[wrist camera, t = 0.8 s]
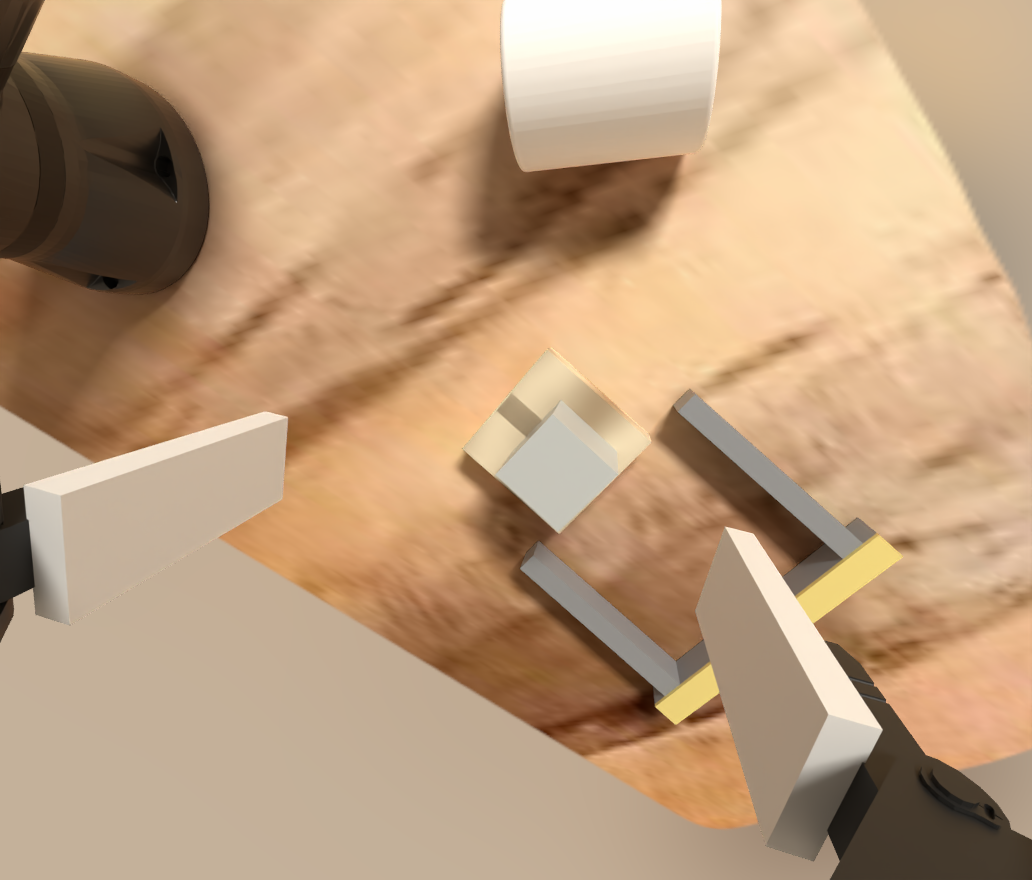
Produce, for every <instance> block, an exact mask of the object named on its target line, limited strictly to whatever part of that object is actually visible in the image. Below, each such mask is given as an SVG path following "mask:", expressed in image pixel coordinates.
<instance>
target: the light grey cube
mask: <svg viewBox="0 0 1032 880" xmlns="http://www.w3.org/2000/svg"><path fill="white" fill-rule="evenodd" d="M617 475H618V459H617V451H616V450H615V449H614V448H613V447H612V446H611V445H609V444H608V443H607V442H606V441H605V440H604V439H603V438H602V437H601V436H600V435H599V434H598V433H596V432H595V431H594V430H593V429H592V428H591V427H590V426H589V425H588V424H587V423H586V422H585V421H583V420H582V419H581V418H580V417H579V416H578V415H577V414H576V413H575V412H574V411H573V410H572V409H570V408H569V407H568V406H567V405H566V404H565V403H564V402H563V401H562V400H560V401H559V403H558V404H557V405H556V406H555V407H554V408H553V409H552V410H551V411H550V412H549V413H548V414H547V415H546V416H545V417H544V419H543V420H542V421H541V422H540V423H539V424H538V425H537V426H536V427H535V428H534V429H533V430H532V431H531V432H530V433H529V434H528V436H527V437H526V438H525V439H524V440H523V441H522V442H521V443H520V444H519V445H518V446H517V447H516V448H515V449H514V450H513V452H512V453H511V454H510V455H509V457H508V458H507V459H506V461H505V462H504V464H503V465H502V466H501V468H500V469H499V470H498V472H497V473H496V476H497V477H498V478H499V479H500V480H501V481H502V482H503V483H504V484H506V485H507V486H508V487H509V488H510V489H511V490H512V491H513V492H514V493H515V494H516V495H518V496H519V497H520V498H521V499H522V500H523V501H524V502H525V503H526V504H527V505H529V506H530V507H531V508H532V509H533V510H534V511H535V512H536V513H537V514H538V515H539V516H541V517H542V518H543V519H544V520H545V521H546V522H547V523H548V524H549V525H550V526H552V527H553V528H554V529H555V530H556V531H557V532H559V531H560V530H561V529H562V528H563V527H564V526H565V525H566V524H567V523H568V522H569V521H570V520H571V519H572V518H573V517H574V516H575V515H577V514H578V513H579V512H580V511H581V510H582V509H583V508H584V507H585V506H586V505H587V504H588V503H589V502H590V501H591V500H592V499H593V498H594V497H595V496H596V495H598V494H599V493H600V492H601V491H602V490H603V489H604V488H605V487H606V486H607V485H608V484H609V483H610V482H611V481H612V480H613V479H614V478H615V477H616V476H617Z"/></svg>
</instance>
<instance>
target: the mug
mask: <svg viewBox="0 0 1032 880" xmlns="http://www.w3.org/2000/svg"><path fill="white" fill-rule="evenodd" d="M720 34H721V0H504V1H503V5H502V10H501V21H500V52H501V69H502V82H503V92H504V100H505V108H506V115H507V122H508V128H509V133H510V138H511V143H512V147H513V151H514V155H515V158H516V161H517V163H518V165H519V167H520V169H521V170H522V171H524V172H532V171H541V170H550V169H559V168H568V167H577V166H586V165H595V164H604V163H613V162H622V161H631V160H639V159H648V158H657V157H666V156H675V155H684V154H693V153H697V152H699V151H700V150H701V148H702V147H703V145H704V142H705V139H706V136H707V133H708V129H709V124H710V119H711V114H712V109H713V102H714V96H715V88H716V80H717V71H718V61H719V49H720Z"/></svg>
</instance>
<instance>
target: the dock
mask: <svg viewBox="0 0 1032 880" xmlns="http://www.w3.org/2000/svg"><path fill="white" fill-rule="evenodd" d="M673 406H674V407H675V409H676V410H677V412H678V413H680V414H681V415H682V416H683V417H684V418H685V419H686V420H687V421H689V422H690V423H691V424H692V425H693V426H694V427H695V428H696V429H698V430H699V431H700V432H701V433H702V434H703V435H704V436H705V437H706V438H708V439H709V440H710V441H711V442H712V443H713V444H714V445H715V446H717V447H718V448H719V449H720V450H721V451H722V452H723V453H724V454H726V455H727V456H728V457H729V458H730V459H731V460H732V461H733V462H735V463H736V464H737V465H738V466H739V467H740V468H741V469H742V470H744V471H745V472H746V473H747V474H748V475H749V476H750V477H751V478H753V479H754V480H755V481H756V482H757V483H758V484H759V485H760V486H762V487H763V488H764V489H765V490H766V491H767V492H768V493H769V494H771V495H772V496H773V497H774V498H775V499H776V500H777V501H778V502H779V503H781V504H782V505H783V506H784V507H785V508H786V509H787V510H788V511H790V512H791V513H792V514H793V515H794V516H795V517H796V518H797V519H799V520H800V521H801V522H802V523H803V524H804V525H805V526H806V527H808V528H809V529H810V530H811V531H812V532H813V533H814V534H815V535H817V536H818V537H819V538H820V539H821V540H822V541H823V542H824V543H825V544H824V545H822V546H821V547H820V548H819V549H817V550H816V551H815V552H814V553H812V554H811V555H810V556H808V557H807V558H806V559H805V560H803V561H802V562H801V563H800V564H798V565H797V566H796V567H795V568H793V569H792V570H791V571H790V572H788V573H787V574H786V575H784V576H783V577H782V578H783V579H784V581H785V582H786V584H787V585H788V587H789V588H790V590H791V592H792V593H793V595H794V596H795V598H796V599H797V601H798V602H799V604H800V605H801V607H802V608H803V610H804V611H805V613H806V614H807V616H808V617H809V619H810V620H811V622H812V623H814V622H816V621H817V620H818V619H820V618H821V617H823V616H824V615H825V614H827V613H828V612H829V611H831V610H832V609H833V608H835V607H836V606H837V605H839V604H840V603H841V602H843V601H844V600H845V599H847V598H848V597H850V596H851V595H852V594H854V593H855V592H856V591H858V590H859V589H860V588H862V587H863V586H864V585H866V584H867V583H868V582H870V581H871V580H873V579H874V578H875V577H877V576H878V575H879V574H881V573H882V572H883V571H885V570H886V569H887V568H889V567H890V566H891V565H893V564H894V563H896V562H897V561H898V560H900V559H901V558H902V557H903V556H902V555H901V554H900V553H899V552H898V551H897V550H895V549H894V548H893V547H892V546H891V545H890V544H889V543H888V542H886V541H885V540H884V539H883V538H882V537H881V536H880V535H879V534H877V533H876V532H875V531H874V530H872V529H871V528H870V527H869V526H868V525H866V524H865V523H864V522H863V521H861V520H860V519H859V518H857V519H855V520H854V521H853V522H851V523H850V524H849V525H848V526H846V527H844V526H843V525H842V524H841V523H840V522H839V521H837V520H836V519H835V518H834V517H833V516H832V515H831V514H830V513H828V512H827V511H826V510H825V509H824V508H823V507H822V506H821V505H819V504H818V503H817V502H816V501H815V500H814V499H813V498H812V497H811V496H809V495H808V494H807V493H806V492H805V491H804V490H803V489H802V488H800V487H799V486H798V485H797V484H796V483H795V482H794V481H793V480H791V479H790V478H789V477H788V476H787V475H786V474H785V473H784V472H782V471H781V470H780V469H779V468H778V467H777V466H776V465H775V464H774V463H772V462H771V461H770V460H769V459H768V458H767V457H766V456H765V455H763V454H762V453H761V452H760V451H759V450H758V449H757V448H756V447H754V446H753V445H752V444H751V443H750V442H749V441H748V440H747V439H745V438H744V437H743V436H742V435H741V434H740V433H739V432H738V431H737V430H735V429H734V428H733V427H732V426H731V425H730V424H729V423H728V422H726V421H725V420H724V419H723V418H722V417H721V416H720V415H719V414H717V413H716V412H715V411H714V410H713V409H712V408H711V407H710V406H708V405H707V404H706V403H705V402H704V401H703V400H702V399H701V398H699V397H698V396H697V395H696V394H695V393H694V392H693V391H692V390H691V389H689V390H688V391H687V392H686V393H685V394H684V395H683V396H682V397H681V398H680V399H679V400H678V401H677V402H676V403H675V404H674V405H673ZM520 569H521V570H522V571H523V572H524V573H525V574H526V575H528V576H529V577H530V578H531V579H532V580H533V581H534V582H536V583H537V584H538V585H539V586H540V587H541V588H542V589H543V590H545V591H546V592H547V593H548V594H549V595H550V596H551V597H553V598H554V599H555V600H556V601H557V602H558V603H559V604H561V605H562V606H563V607H564V608H565V609H566V610H567V611H568V612H570V613H571V614H572V615H573V616H574V617H575V618H576V619H578V620H579V621H580V622H581V623H582V624H583V625H584V626H586V627H587V628H588V629H589V630H590V631H591V632H592V633H594V634H595V635H596V636H597V637H598V638H599V639H600V640H601V641H603V642H604V643H605V644H606V645H607V646H608V647H609V648H611V649H612V650H613V651H614V652H615V653H616V654H617V655H619V656H620V657H621V658H622V659H623V660H624V661H625V662H627V663H628V664H629V665H630V666H631V667H632V668H633V669H634V670H636V671H637V672H638V673H639V674H640V675H641V676H642V677H644V678H645V679H646V680H647V681H648V682H649V683H650V684H652V685H653V691H654V700H655V707H656V708H657V709H658V710H659V711H660V712H662V713H663V714H664V715H665V716H666V717H667V718H668V719H670V720H671V721H672V722H673V723H674V724H675V725H676V724H678V723H679V722H680V721H682V720H683V719H685V718H686V717H687V716H689V715H690V714H691V713H693V712H694V711H695V710H697V709H698V708H699V707H701V706H702V705H703V704H705V703H706V702H708V701H709V700H710V699H712V698H713V697H714V696H716V695H717V694H718V693H720V692H719V689H718V686H717V682H716V679H715V676H714V672H713V669H712V666H711V662H710V659H709V656H708V652H707V649H706V645H705V642H704V640H702V641H701V642H700V643H699V644H697V645H696V646H695V647H694V648H692V649H691V650H690V651H688V652H687V653H686V654H685V655H683V656H682V657H681V658H680V659H678V660H677V661H675V660H674V659H673V658H671V657H670V656H669V655H668V654H667V653H666V652H665V651H663V650H662V649H661V648H660V647H659V646H658V645H657V644H656V643H654V642H653V641H652V640H651V639H650V638H649V637H648V636H646V635H645V634H644V633H643V632H642V631H641V630H640V629H638V628H637V627H636V626H635V625H634V624H633V623H632V622H631V621H629V620H628V619H627V618H626V617H625V616H624V615H623V614H621V613H620V612H619V611H618V610H617V609H616V608H615V607H613V606H612V605H611V604H610V603H609V602H608V601H607V600H606V599H604V598H603V597H602V596H601V595H600V594H599V593H598V592H596V591H595V590H594V589H593V588H592V587H591V586H590V585H589V584H587V583H586V582H585V581H584V580H583V579H582V578H581V577H579V576H578V575H577V574H576V573H575V572H574V571H573V570H571V569H570V568H569V567H568V566H567V565H566V564H565V563H564V562H562V561H561V560H560V559H559V558H558V557H557V556H556V555H554V554H553V553H552V552H551V551H550V550H549V549H548V548H547V547H545V546H544V545H543V544H542V543H541V542H540V541H539V540H538V541H537V542H536V543H535V544H534V545H533V546H532V547H531V548H530V549H529V550H528V551H527V552H526V554H525V557H524V559H523V562H522V565H521V567H520Z"/></svg>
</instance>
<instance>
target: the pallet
mask: <svg viewBox="0 0 1032 880" xmlns="http://www.w3.org/2000/svg"><path fill="white" fill-rule="evenodd" d="M560 400H562V401H563V402H564V403H565V404H566V405H567V406H568V407H569V408H570V409H572V410H573V411H574V412H575V413H576V414H577V415H578V416H579V417H580V418H581V419H582V420H583V421H585V422H586V423H587V424H588V425H589V426H590V427H591V428H592V429H593V430H594V431H595V432H596V433H598V434H599V435H600V436H601V437H602V438H603V439H604V440H605V441H606V442H607V443H608V444H609V445H611V446H612V447H613V448H614V449H615V450H616V451H617V459H618V475H619V474H620V473H621V472H622V471H623V470H624V469H625V468H626V467H627V466H628V465H629V464H630V463H631V462H632V461H633V460H634V459H635V458H636V457H637V456H638V455H639V454H640V453H641V452H642V451H643V450H644V449H645V448H646V447H647V446H648V445H649V444H650V443H651V439H650V435H649V433H647V432H646V431H645V430H644V429H643V428H642V427H641V426H640V425H638V424H637V423H636V422H635V421H634V420H633V419H632V418H631V417H629V416H628V415H627V414H626V413H625V412H624V411H623V410H622V409H620V408H619V407H618V406H617V405H616V404H615V403H614V402H612V401H611V400H610V399H609V398H608V397H607V396H606V395H605V394H603V393H602V392H601V391H600V390H599V389H598V388H597V387H596V386H594V385H593V384H592V383H591V382H590V381H589V380H588V379H587V378H585V377H584V376H583V375H582V374H581V373H580V372H579V371H578V370H576V369H575V368H574V367H573V366H572V365H571V364H570V363H569V362H567V361H566V360H565V359H564V358H563V357H562V356H561V355H559V354H558V353H557V352H556V351H555V350H554V349H553V348H552V347H551V348H549V349H547V350H546V351H545V352H544V353H543V355H542V356H541V357H540V358H539V359H538V360H537V362H536V363H535V364H534V365H533V366H532V367H531V369H530V370H529V371H528V372H527V373H526V374H525V376H524V377H523V378H522V379H521V380H520V382H519V383H518V384H517V385H516V386H515V387H514V389H513V390H512V391H511V392H510V393H509V394H508V396H507V397H506V398H505V399H504V400H503V401H502V403H501V404H500V405H499V406H498V407H497V409H496V410H495V411H494V412H493V413H492V414H491V416H490V417H489V418H488V419H487V420H486V421H485V423H484V424H483V425H482V426H481V427H480V429H479V430H478V431H477V432H476V433H475V434H474V436H473V437H472V438H471V439H470V440H469V441H468V443H467V444H466V445H465V446H464V447H463V448H462V449H463V450H464V451H465V452H466V453H468V454H469V455H470V456H471V457H472V458H473V459H474V460H476V461H477V462H478V463H479V464H480V465H481V466H482V467H483V468H485V469H486V470H487V471H488V472H489V473H490V474H491V475H493V476H494V477H495V478H496V479H497V480H498V481H499V482H501V483H502V484H503V485H504V486H505V487H506V488H507V489H508V490H510V491H511V492H512V493H513V494H514V495H515V496H516V497H518V498H519V499H520V500H521V501H522V502H523V503H524V504H526V503H525V502H524V501H523V500H522V499H521V498H520V497H519V496H518V495H516V494H515V493H514V492H513V491H512V490H511V489H510V488H509V487H508V486H507V485H506V484H504V483H503V482H502V481H501V480H500V479H499V478H498V477H497V476H496V473H497V472H498V470H499V469H500V468H501V466H502V465H503V464H504V462H505V461H506V459H507V458H508V457H509V455H510V454H511V453H512V452H513V450H514V449H515V448H516V447H517V446H518V445H519V444H520V443H521V442H522V441H523V440H524V439H525V438H526V437H527V436H528V434H529V433H530V432H531V431H532V430H533V429H534V428H535V427H536V426H537V425H538V424H539V423H540V422H541V421H542V420H543V419H544V417H545V416H546V415H547V414H548V413H549V412H550V411H551V410H552V409H553V408H554V407H555V406H556V405H557V404H558V403H559V401H560ZM618 475H617V476H618ZM617 476H616V477H617ZM616 477H615V478H616ZM615 478H614V479H615ZM614 479H613V480H614ZM613 480H612V481H613ZM612 481H611V482H612ZM611 482H610V483H611ZM610 483H609V484H610ZM609 484H608V485H609ZM608 485H607V486H608ZM607 486H606V487H607ZM606 487H605V488H606ZM605 488H604V489H605ZM604 489H603V490H604ZM603 490H602V491H603ZM602 491H601V492H602ZM601 492H600V493H601ZM600 493H599V494H600ZM599 494H598V495H599ZM598 495H596V496H595V497H594V498H593V499H592V500H591V501H590V502H589V503H588V504H587V505H586V506H585V507H584V508H583V509H582V510H581V511H580V512H579V513H578V514H577V515H575V516H574V517H573V518H572V519H571V520H570V521H569V522H568V523H567V524H566V525H565V526H564V527H563V528H562V529H561V530H560V531H559V532H557V531H556V530H555V529H554V528H553V527H552V526H551V527H552V528H553V529H554V530H555V531H556V532H557V533H558V534H560V533H561V532H562V531H563V530H564V529H565V528H566V527H567V526H568V525H569V524H570V523H571V522H572V521H573V520H574V519H575V518H576V517H577V516H578V515H579V514H580V513H581V512H582V511H583V510H584V509H585V508H586V507H587V506H588V505H589V504H590V503H591V502H592V501H593V500H594V499H595V498H596V497H597V496H598ZM526 505H527V504H526ZM527 506H528V507H529V508H530V509H531V510H532V511H533V512H535V511H534V510H533V509H532V508H531V507H530V506H529V505H527ZM535 513H536V512H535ZM536 514H537V513H536ZM537 515H538V514H537ZM538 516H539V515H538ZM539 517H540V518H541V519H543V518H542V517H541V516H539ZM543 520H544V519H543ZM544 521H545V520H544ZM545 522H546V521H545ZM546 523H547V522H546ZM547 524H548V523H547ZM548 525H549V524H548ZM549 526H550V525H549Z"/></svg>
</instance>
